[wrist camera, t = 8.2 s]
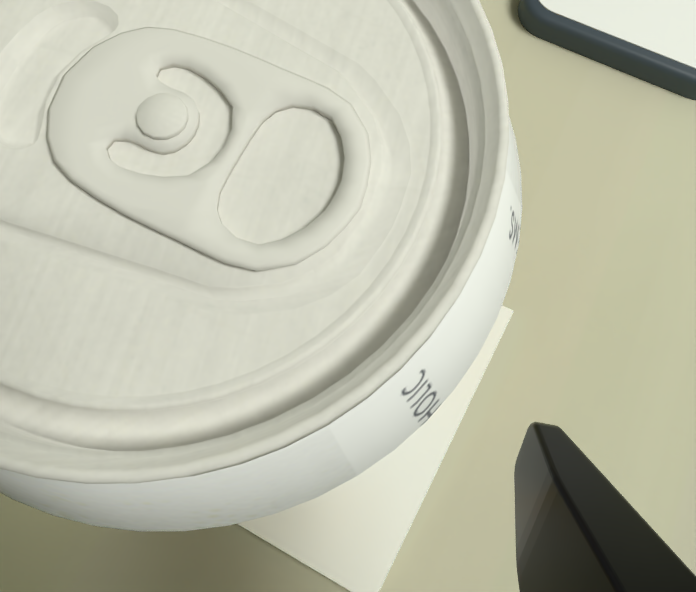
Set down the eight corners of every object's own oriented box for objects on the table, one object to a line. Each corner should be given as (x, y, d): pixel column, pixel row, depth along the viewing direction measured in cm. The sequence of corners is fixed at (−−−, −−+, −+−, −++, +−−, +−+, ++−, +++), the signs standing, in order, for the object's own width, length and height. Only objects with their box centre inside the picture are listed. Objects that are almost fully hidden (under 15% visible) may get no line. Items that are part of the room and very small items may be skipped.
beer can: (268, 257, 20) (36, -286, 5) (431, 335, 19) (680, -55, 5) (176, 421, 18) (-480, 284, 4) (349, 512, 18) (331, 765, 3)
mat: (372, 599, 18) (373, 604, 17) (99, 437, 19) (90, 436, 18) (509, 315, 20) (513, 310, 19) (256, 188, 21) (254, 180, 21)
